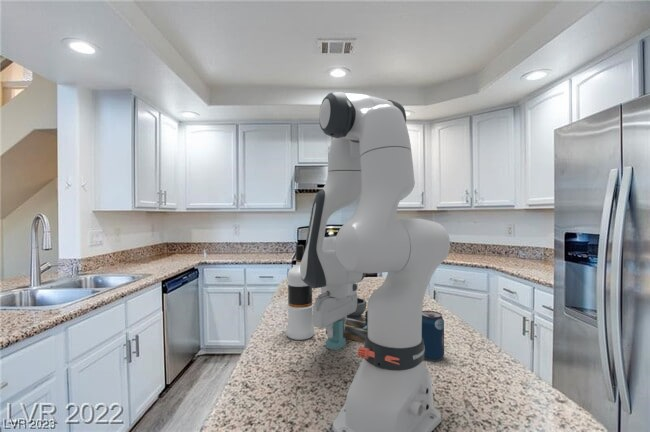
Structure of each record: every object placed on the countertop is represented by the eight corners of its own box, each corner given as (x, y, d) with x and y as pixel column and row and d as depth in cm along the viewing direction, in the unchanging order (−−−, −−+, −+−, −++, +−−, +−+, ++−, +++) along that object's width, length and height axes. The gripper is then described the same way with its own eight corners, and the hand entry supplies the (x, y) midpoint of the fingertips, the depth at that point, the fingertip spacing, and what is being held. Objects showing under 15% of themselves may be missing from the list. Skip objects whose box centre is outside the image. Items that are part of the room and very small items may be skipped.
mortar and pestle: (368, 322, 115) (368, 290, 115) (343, 324, 113) (343, 291, 113) (361, 313, 126) (361, 283, 126) (338, 314, 125) (338, 284, 124)
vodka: (291, 343, 97) (290, 246, 97) (283, 332, 105) (282, 244, 105) (318, 338, 100) (318, 245, 100) (308, 328, 109) (308, 243, 109)
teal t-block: (336, 350, 91) (336, 323, 91) (325, 347, 93) (325, 320, 93) (345, 344, 95) (345, 318, 95) (334, 341, 98) (334, 316, 98)
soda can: (449, 361, 84) (449, 316, 84) (425, 363, 83) (425, 318, 83) (436, 350, 91) (435, 309, 91) (413, 351, 90) (413, 310, 90)
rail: (386, 336, 102) (386, 307, 102) (375, 346, 94) (374, 314, 94) (340, 325, 112) (339, 299, 112) (326, 333, 104) (325, 305, 104)
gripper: (325, 297, 84) (325, 348, 84) (360, 283, 101) (360, 325, 101) (306, 294, 88) (307, 342, 88) (344, 281, 105) (344, 322, 105)
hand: (336, 333), depth 95 cm, fingers open, 4 cm apart
